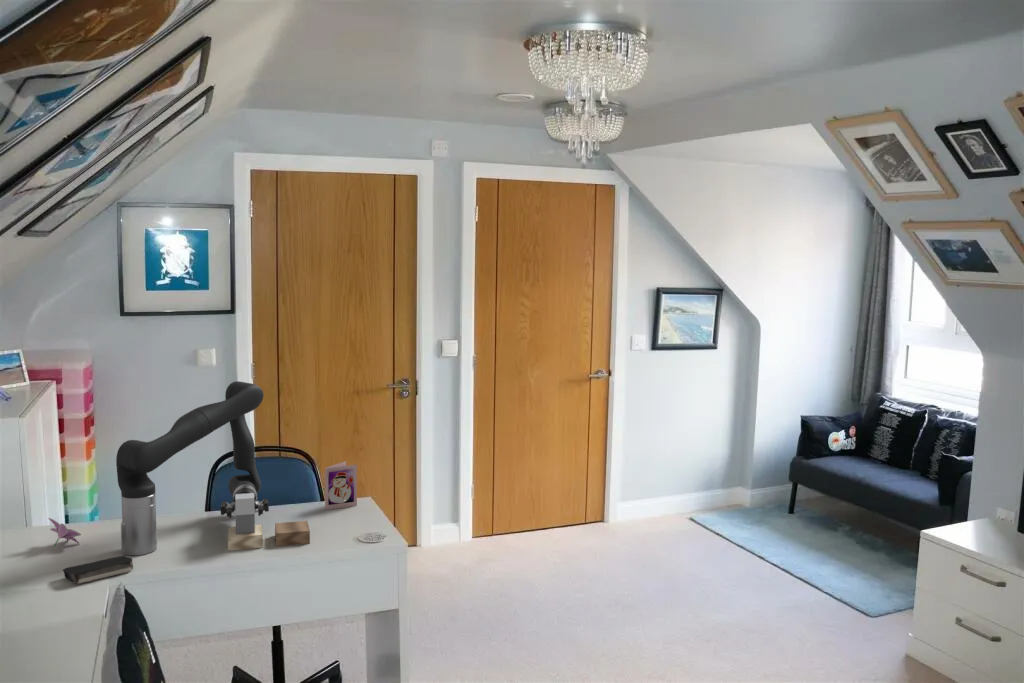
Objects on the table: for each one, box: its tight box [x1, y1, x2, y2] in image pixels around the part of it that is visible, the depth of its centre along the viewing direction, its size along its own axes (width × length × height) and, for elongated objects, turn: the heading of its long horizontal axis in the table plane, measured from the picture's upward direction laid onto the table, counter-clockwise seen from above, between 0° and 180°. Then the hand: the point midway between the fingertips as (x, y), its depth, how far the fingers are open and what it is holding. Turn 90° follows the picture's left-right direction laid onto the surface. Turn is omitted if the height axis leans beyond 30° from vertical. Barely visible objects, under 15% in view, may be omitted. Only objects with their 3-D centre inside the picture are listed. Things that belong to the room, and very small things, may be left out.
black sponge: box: [62, 555, 134, 585], centre depth 222 cm, size 16×8×4 cm, turn 135°
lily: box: [47, 517, 82, 549], centre depth 242 cm, size 11×11×9 cm
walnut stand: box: [274, 520, 311, 547], centre depth 253 cm, size 10×10×4 cm
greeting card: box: [324, 460, 358, 510], centre depth 288 cm, size 11×7×15 cm, turn 118°
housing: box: [234, 493, 256, 535], centre depth 247 cm, size 6×6×11 cm
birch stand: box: [227, 524, 264, 551], centre depth 248 cm, size 10×10×4 cm
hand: (245, 513), depth 246 cm, fingers open, 8 cm apart
